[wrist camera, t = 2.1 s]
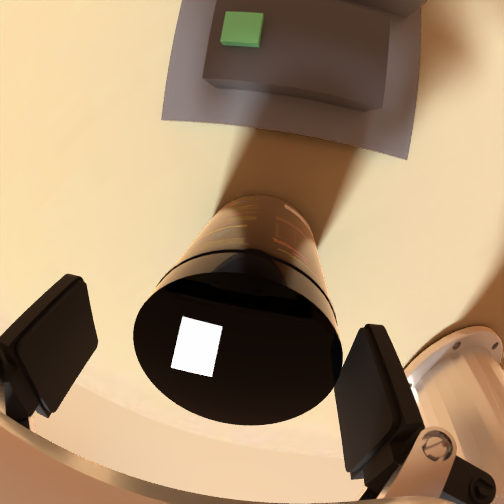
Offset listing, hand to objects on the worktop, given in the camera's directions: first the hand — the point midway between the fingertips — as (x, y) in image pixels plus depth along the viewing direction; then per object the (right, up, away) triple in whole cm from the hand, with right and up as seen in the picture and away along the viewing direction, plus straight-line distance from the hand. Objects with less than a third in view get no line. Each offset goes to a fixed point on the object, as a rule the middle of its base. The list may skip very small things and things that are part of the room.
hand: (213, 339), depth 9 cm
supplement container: (+2, +3, +9) cm, 10 cm away
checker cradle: (+5, +20, +2) cm, 20 cm away
